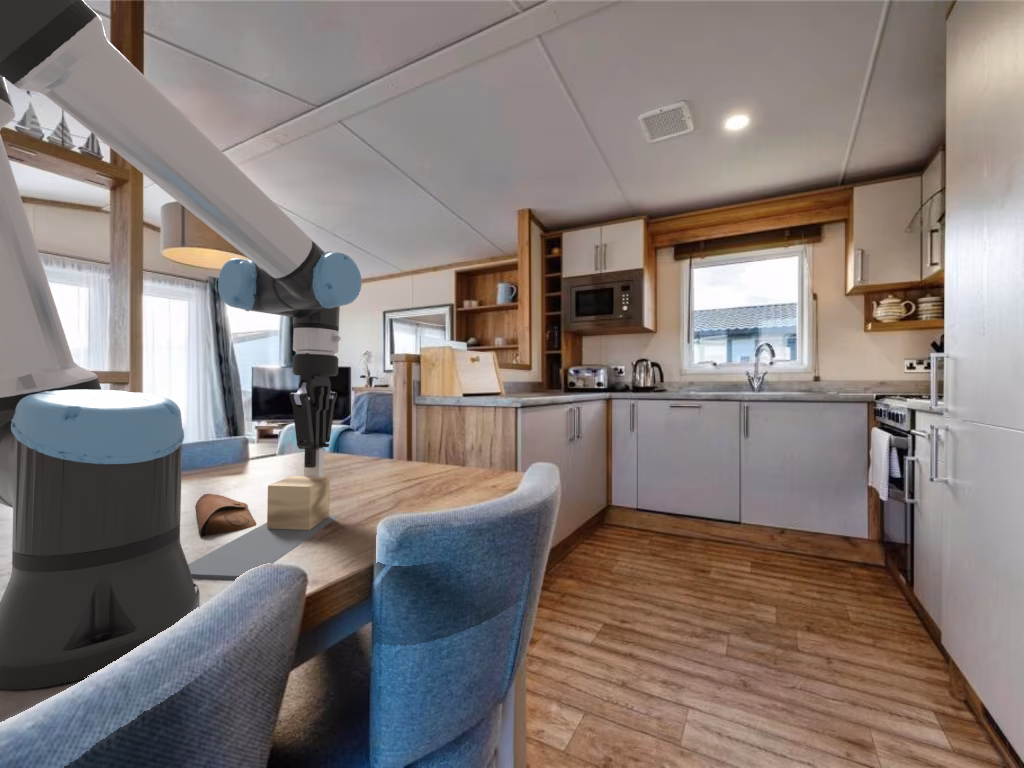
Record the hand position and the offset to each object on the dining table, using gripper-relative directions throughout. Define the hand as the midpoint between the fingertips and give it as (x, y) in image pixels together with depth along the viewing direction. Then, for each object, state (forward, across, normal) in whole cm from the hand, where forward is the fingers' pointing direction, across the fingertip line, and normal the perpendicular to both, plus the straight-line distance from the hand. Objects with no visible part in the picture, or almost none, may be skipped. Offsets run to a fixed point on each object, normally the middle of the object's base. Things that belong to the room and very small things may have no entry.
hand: (313, 484), depth 78 cm
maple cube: (+6, -5, 0) cm, 7 cm away
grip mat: (+6, -12, 0) cm, 14 cm away
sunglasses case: (+7, -3, +14) cm, 16 cm away
